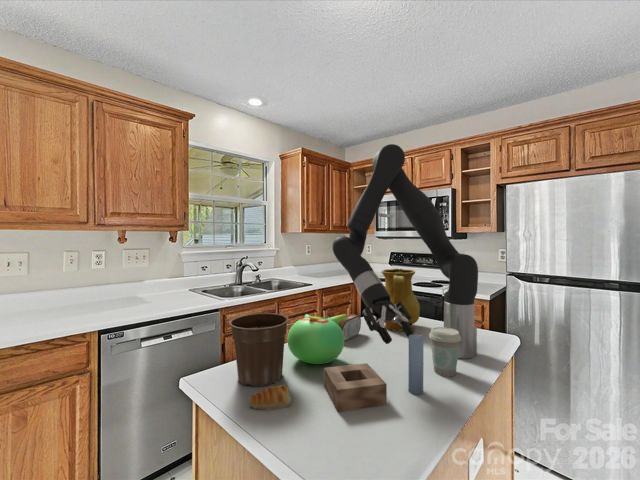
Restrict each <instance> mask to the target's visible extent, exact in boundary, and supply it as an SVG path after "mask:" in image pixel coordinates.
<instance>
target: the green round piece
mask: <svg viewBox="0 0 640 480" xmlns="http://www.w3.org/2000/svg"><path fill="white" fill-rule="evenodd" d="M347 316H348V314H347V313H346V314H345V313H344V314H339V315H334V316H331V317H328V318H327V317H323V316H315V315H309V314H307V313H306V314H305V315H304V317H303V318H300V319H299V320H297V321H295V322H294V323H293V324H292V326H291V327H290V329H289V331H288V334H287V337H286V338H287V346H288V349H289V351H290V352H291V354H292V355H293V356H294V357H295V358H296V359H298V360H299V361H302V362H303V363H307V364H311V365H321V364H327V363H330V362H332V361H335V360H336V359H337V358H338V357H339V356H340V355H341V353H342V351H343V350H344V346H345V341H344V334H343V332H342V330H341V328H340V327H339V326H338V323H339V322H340V321H342V320H343V319H344V318H346V317H347Z"/></svg>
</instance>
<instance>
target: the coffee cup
mask: <svg viewBox="0 0 640 480" xmlns="http://www.w3.org/2000/svg"><path fill="white" fill-rule="evenodd" d="M428 336H429V338H430V346H431V348H430V349H431V356H432V365H433V372H434V373H436V374H437V375H439V376H443V377H453V376H454V377H455V375H456V373H457V366H458V359H459V358H458V351H459V343H460V341H461V336H460V334H459V332H458V331H457V330H455V329H452V328H446V327H444V326H437V327H432V328H431V330H430V332H429V335H428Z"/></svg>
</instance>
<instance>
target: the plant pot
mask: <svg viewBox="0 0 640 480" xmlns="http://www.w3.org/2000/svg"><path fill="white" fill-rule="evenodd" d="M288 323H289V317H287V316H286V315H285V314H279V313H272V312H262V313H261V312H260V313H251V314H245V315H241V316H237V317H234V318H232V319H231V320H230V321H229V322H228V324H229V326H230V328H231V329H230V330H231V335H232V339H233V343H234V352H235V362H236V369H237V380H238V382H239V383H240V384H241V385H245V386H248V385H251V386H252V387H264V386H269V385H272V384H274V383H277V382H278V381H279V380H280V378H282V377H283V365H284V352H285V351H284V350H285V341H286V340H285V339H286V335H287V327H288Z"/></svg>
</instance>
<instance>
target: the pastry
mask: <svg viewBox="0 0 640 480" xmlns="http://www.w3.org/2000/svg"><path fill="white" fill-rule="evenodd" d="M248 404H249V406H250V407H251V408H253V410H254V409H255V410H266V411H269V410H270V411H271V410H276V408H277V409H284V408H287V407H289V406H290V404H291V397H290V392H289V388H288V386H287V385H286V384H285V383H284V384H282V385H274V386H273V385H270V386H268V387H267V388H265V389H263V390H260V391H259V390H258V392H256V393H254V394H252V395H251V396H250V398H249V403H248Z"/></svg>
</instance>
